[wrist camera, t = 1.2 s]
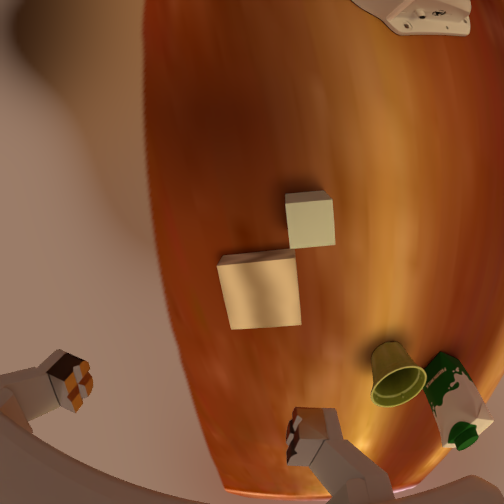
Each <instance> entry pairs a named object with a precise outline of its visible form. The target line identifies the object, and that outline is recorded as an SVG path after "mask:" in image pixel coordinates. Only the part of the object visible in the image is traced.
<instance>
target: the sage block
mask: <svg viewBox="0 0 504 504" xmlns="http://www.w3.org/2000/svg"><path fill="white" fill-rule="evenodd" d="M285 207H286V215H287V224H288V234H289V243H290V249H295V248H305V247H316V246H327V245H335V230H334V214H333V200H332V198H331V197H330V196H329V195H328V194H327V193H326V192H325V191H324V190H322V191H311V192H300V193H290V194H285Z"/></svg>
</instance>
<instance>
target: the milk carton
mask: <svg viewBox="0 0 504 504" xmlns="http://www.w3.org/2000/svg"><path fill="white" fill-rule="evenodd" d="M424 371H425V372H426V375H427V378H426V383H425V385H424V387H423V390H424V392H425V394H426V397H427V399H428V402H429V404H430V406H431V409H432V412H433V414H434V417H435V419H436V422H437V425H438V427H439V430H440V435H441V441H442V447H450V448H457V450H459V451H460V450H463V449H465V448H467V447H469V446H470V445H472V444H473V443H474V442H475V441H476V440H477V439H478V435H479V434H480V433H481V432H482V431H484V430H485V429H486V428H487V427H488V426H489V425H490V424H491V423H493V422H494V419H493V417H492V415H491V414H490V412H489V410H488V408H487V407H486V405H485V403H484V401H483V399H482V397H481V395H480V394H479V392H478V390H477V388H476V386H475V385H474V383H473V381H472V379H471V378H470V376H469V374H468V373H467V371H466V370H465V368H464V367H463V365H462V364H461V362H460V361H459V360H458V359H456V358H454V357H452V356H449V355H447V354H445V353H443V352H439V354H438V355H437V356H436V357H435V358H434V359H433V361H432V362H431V363H430V364H429V365H428V366H427V367H426V368H425V369H424Z"/></svg>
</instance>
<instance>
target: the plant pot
mask: <svg viewBox="0 0 504 504" xmlns="http://www.w3.org/2000/svg"><path fill="white" fill-rule="evenodd" d="M371 363H372V372H373V388H372V391H371V400H372V402H373V403H374V404H375V405H377V406H380V407H394V406H398V405H401V404H403V403H405V402H407V401H409V400H411V399H412V398H414V397H415V396H416V395H417V394H418V393H419V392H420V391H421V390H422V388H423V387H424V385H425V383H426V378H427V375H426V372H425V371H424V369H423V368H421V367H419V366H418V365H417V364H415V363H414V361H413V360H412V359H411V357H410V356H409V355H408V353H407V352H406V351H405V349H404V348H403V347H402V345H401V344H400V343H398V342H386V343H384V344H382V345H380V346H379V347H377V348H376V349H375V351H374V352H373V354H372V358H371Z"/></svg>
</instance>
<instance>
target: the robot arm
mask: <svg viewBox="0 0 504 504" xmlns="http://www.w3.org/2000/svg"><path fill="white" fill-rule="evenodd" d="M352 1H353V2H354V3H355V4H357V5H358V6H359V7H361V8H362V9H364V10H365V11H367V12H369V13H371V14H373V15H374V16H376V17H378V18H379V19H381V20H382V21H383V22H384V23H385V24H386V25H387V26H388V27H389V28H390V29H391V30H392V31H393V32H395V33H396V34H398V35H453V36H467V35H468V34H469V32H470V20H469V16H468V15H469V14H470V12H471V2H470V0H352ZM404 25H405V26H406V27H407V28H405V27H404ZM89 369H90V367H89V363H88V362H87V361H85V360H83V359H80V358H78V357H76V356H74V355H72V354H69V353H67V352H64V351H62V350H60V349H59V350H56V351H55V352H53V353H52V354H51V355H50V356H49V357H48V358H47V359H46V360H45V361H44V362H43V363H42V364H40V365H39V366H38V367H37V368H36V367H32V368H28V369H24V370H20V371H16V372H11V373H8V374H3V375H0V504H208V503H203V502H198V501H192V500H188V499H184V498H179V497H176V496H172V495H168V494H164V493H161V492H157V491H153V490H151V489H147V488H144V487H141V486H138V485H135V484H132V483H129V482H127V481H124V480H121V479H119V478H116V477H114V476H111V475H109V474H106V473H104V472H102V471H100V470H97V469H95V468H93V467H91V466H88V465H86V464H84V463H82V462H80V461H78V460H76V459H74V458H72V457H70V456H69V455H67V454H65V453H63V452H61V451H59V450H58V449H56V448H54V447H52V446H51V445H49V444H48V443H46V442H44V441H42V440H41V439H39V438H38V437H36V436H35V435H33V434H32V433H33V430H32V428H31V427H30V425H29V423H28V421H30V420H33V419H35V418H37V417H39V416H42V415H43V414H46V413H48V412H50V411H52V410H54V409H57V408H58V407H60V406H61V407H64V408H65V409H67V410H70V411H72V412H74V413H76V412H77V411H78V409H79V408H80V407H81V405H82V404H83V398H86V397H88V396H89V395H90V393H91V391H92V388H93V379H92V376H91V375H90V374H89V372H88V371H89ZM286 443H287V444H288V446H289V447H288V449H287V452H286V455H287V465H291V466H309V468H310V469H311V470H312V472H313V473H314V474H315V476H316V477H317V478H318V479H319V481H320V482H321V483H322V484H323V486H324V487H325V488H326V489H327V490H328V492H329V493H330V494H331V495H332V498H331V499H330V500H329V501H328V502H327V503H326V504H504V497H503V495H502V494H501V491H500V490H499V489H498V488H497V487H496V486H495V485H493V484H491V483H489V482H488V481H486V480H484V479H482V478H480V477H478V476H476V475H469V476H466V477H463V478H461V479H458V480H456V481H453V482H451V483H448V484H445V485H442V486H440V487H437V488H434V489H431V490H427V491H424V492H421V493H417V494H414V495H410V496H407V497H402V498H398V499H395V497H394V494H393V490H392V487H391V484H390V480H389V477H388V474H387V473H386V472H385V471H384V470H382V469H381V468H380V467H379V466H377V465H376V464H375V463H374V462H373V461H371V460H370V459H369V458H368V457H367V456H365V455H364V454H363V453H362V452H361V451H360V450H358V449H357V448H356V447H355V446H354V445H353V444H351V443H350V442H349V441H348V440H343V436H342V432H341V428H340V424H339V420H338V416H337V412H336V410H335V408H307V407H295V408H294V410H293V412H292V420H290V421H289V423H288V426H287V431H286Z"/></svg>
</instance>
